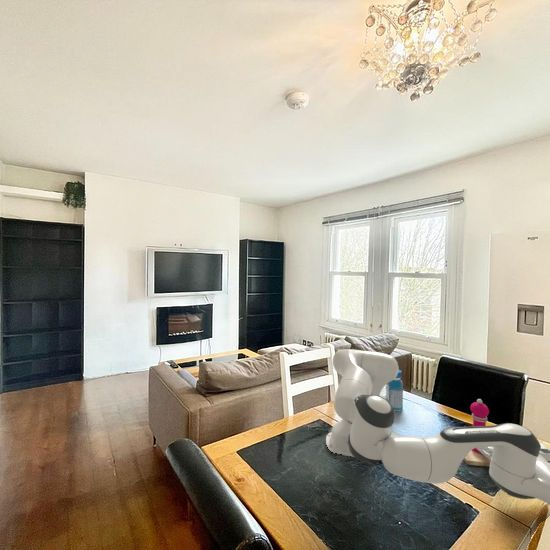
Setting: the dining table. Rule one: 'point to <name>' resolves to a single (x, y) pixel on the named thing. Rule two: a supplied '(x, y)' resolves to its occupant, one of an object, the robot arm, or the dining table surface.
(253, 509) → the dining table surface
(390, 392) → the beverage bottle
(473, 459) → the oak board
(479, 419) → the pepper mill
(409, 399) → the dining table surface
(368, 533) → the dining table surface
